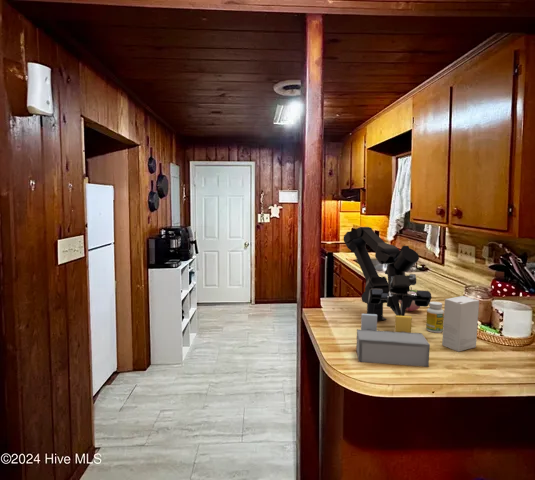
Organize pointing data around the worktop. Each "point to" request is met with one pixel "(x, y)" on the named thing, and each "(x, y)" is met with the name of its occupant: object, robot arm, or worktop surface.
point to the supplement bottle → (435, 317)
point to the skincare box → (460, 323)
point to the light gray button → (369, 322)
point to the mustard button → (403, 324)
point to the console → (392, 348)
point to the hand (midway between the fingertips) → (401, 320)
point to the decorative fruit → (413, 306)
